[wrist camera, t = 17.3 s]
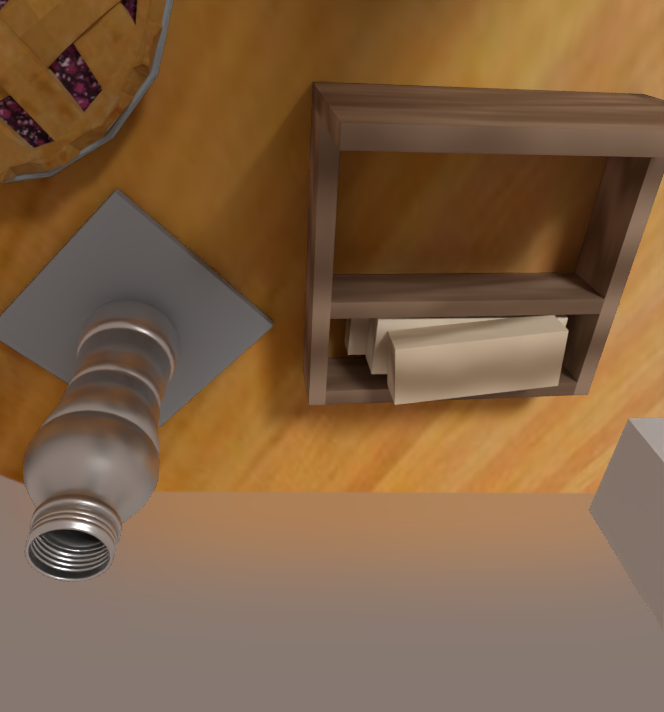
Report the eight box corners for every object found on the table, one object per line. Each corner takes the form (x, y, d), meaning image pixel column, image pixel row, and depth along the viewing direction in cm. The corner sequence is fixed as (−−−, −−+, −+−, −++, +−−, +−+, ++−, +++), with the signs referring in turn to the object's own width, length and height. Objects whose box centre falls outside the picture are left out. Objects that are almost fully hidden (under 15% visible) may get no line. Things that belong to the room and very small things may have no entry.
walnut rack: (312, 81, 36) (341, 122, 26) (643, 94, 40) (782, 135, 30) (303, 371, 48) (320, 477, 38) (561, 363, 51) (641, 459, 41)
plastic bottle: (154, 381, 45) (105, 618, 29) (69, 337, 43) (-41, 572, 26) (201, 320, 43) (178, 538, 26) (114, 270, 40) (27, 478, 24)
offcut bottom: (347, 285, 45) (352, 300, 43) (546, 285, 47) (560, 299, 45) (342, 338, 47) (347, 354, 45) (532, 335, 50) (545, 351, 48)
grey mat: (-10, 326, 42) (-14, 331, 41) (117, 188, 38) (115, 191, 38) (150, 429, 49) (149, 435, 48) (272, 320, 45) (273, 326, 44)
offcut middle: (371, 301, 43) (378, 318, 41) (552, 302, 45) (568, 318, 43) (365, 355, 46) (371, 374, 44) (537, 354, 48) (551, 371, 46)
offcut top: (387, 330, 42) (395, 349, 40) (552, 313, 43) (568, 330, 41) (387, 384, 44) (394, 404, 42) (543, 366, 45) (557, 385, 43)
